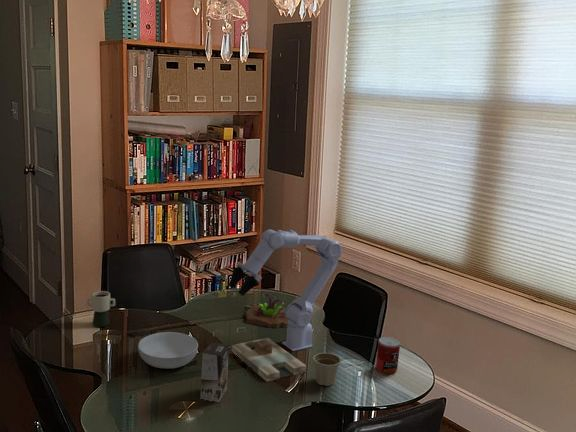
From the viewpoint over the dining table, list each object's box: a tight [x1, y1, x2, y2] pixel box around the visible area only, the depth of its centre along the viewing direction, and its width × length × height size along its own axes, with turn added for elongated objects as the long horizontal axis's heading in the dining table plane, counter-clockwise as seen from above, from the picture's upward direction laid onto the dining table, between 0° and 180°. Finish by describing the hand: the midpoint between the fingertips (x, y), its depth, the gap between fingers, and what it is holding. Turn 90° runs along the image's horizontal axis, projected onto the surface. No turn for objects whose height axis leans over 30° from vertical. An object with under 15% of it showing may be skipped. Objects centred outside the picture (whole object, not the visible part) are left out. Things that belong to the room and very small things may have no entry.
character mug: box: [86, 290, 116, 328], centre depth 258 cm, size 11×7×13 cm, turn 97°
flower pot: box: [313, 352, 342, 387], centre depth 224 cm, size 9×9×9 cm
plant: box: [245, 293, 288, 329], centre depth 276 cm, size 20×20×11 cm
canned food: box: [375, 336, 401, 375], centre depth 236 cm, size 8×8×11 cm
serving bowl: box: [137, 331, 199, 370], centre depth 231 cm, size 21×21×7 cm
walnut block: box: [255, 340, 272, 355], centre depth 239 cm, size 4×4×4 cm
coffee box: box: [200, 342, 230, 403], centre depth 210 cm, size 9×6×16 cm
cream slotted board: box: [230, 337, 307, 382], centre depth 237 cm, size 16×26×2 cm, turn 33°
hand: (235, 290), depth 233 cm, fingers open, 7 cm apart
